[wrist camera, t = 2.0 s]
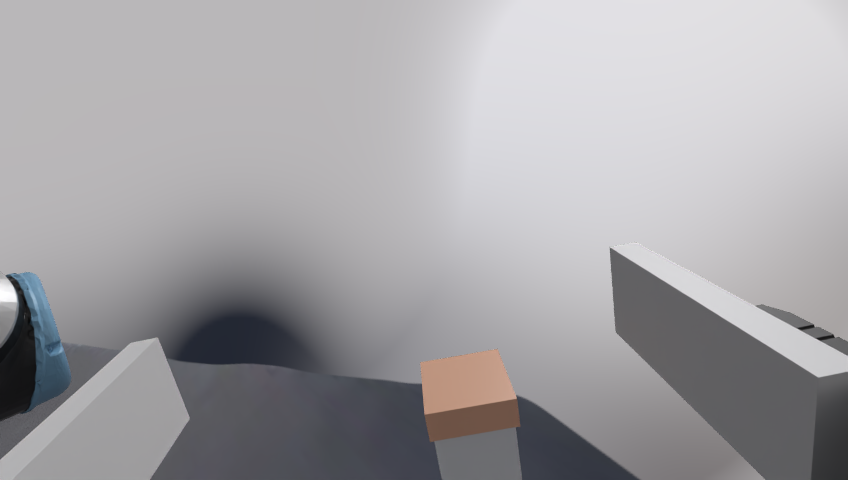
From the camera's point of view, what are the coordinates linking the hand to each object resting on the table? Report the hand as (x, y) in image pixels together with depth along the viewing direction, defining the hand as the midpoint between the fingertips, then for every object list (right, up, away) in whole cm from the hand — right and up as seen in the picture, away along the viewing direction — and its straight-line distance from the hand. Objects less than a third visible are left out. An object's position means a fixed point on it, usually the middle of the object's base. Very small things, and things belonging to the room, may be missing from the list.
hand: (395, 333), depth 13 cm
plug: (+6, -20, +15) cm, 25 cm away
